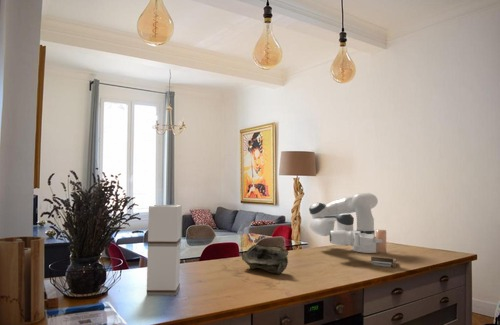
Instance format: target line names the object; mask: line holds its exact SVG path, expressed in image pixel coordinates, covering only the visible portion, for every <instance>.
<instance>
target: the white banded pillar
mask: <svg viewBox="0 0 500 325" xmlns="http://www.w3.org/2000/svg"><path fill="white" fill-rule="evenodd" d="M147 225H148V227H147V228H148V230H147V262H146V263H147V264H146V265H147V266H146V271H147V272H146V296H173V297H175V296H177V293H178V292H179V290H180V288H181V283H180V280H181V279H180V276H181V274H180V269H181V268H180V267H181V247H182V246H181V245H182V204H180V205H179V204H154V206H152V205H151V206H150V205H149V206H148V224H147Z"/></svg>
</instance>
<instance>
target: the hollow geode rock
mask: <svg viewBox="0 0 500 325" xmlns="http://www.w3.org/2000/svg"><path fill="white" fill-rule="evenodd" d="M241 255H242V256H241V259H242V261H243V262H245V264H247V265H248V266H249V270H254V269H258V268H259V269H263V270H265V271H266V272H269V273H273V274H276V275H282V273H283V272H284V271H285V270H286V268H287V266H288V263H289V259H288V255H289V250H287V249H284V248H282V246H278V245H264V244H263V245H262V244H261V245H260V243H257V244H254V245H251V247H249V248H248V250H245V251H244V252H243V253H242V254H241Z"/></svg>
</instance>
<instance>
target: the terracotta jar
mask: <svg viewBox="0 0 500 325" xmlns="http://www.w3.org/2000/svg"><path fill="white" fill-rule="evenodd" d="M375 237H376V239H382V243H376V252H375V253H383V254H384V253H387V230H386V229H376V230H375Z"/></svg>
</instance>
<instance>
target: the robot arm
mask: <svg viewBox="0 0 500 325" xmlns="http://www.w3.org/2000/svg"><path fill="white" fill-rule="evenodd" d="M378 203H379V202H378V197H377V196H376V195H374V194H373V193H370V192H366V193H365V192H361V193H359V192H358V193H357V194H355V195H352V196H347V197H343V198H340V199H335V200H333V201H331V202H330V201H329V202H328V203H327V204H325V203H322V202H315V203H313V204H311V205H310V206H309V208H308V210H309V211H308V212H309V214H310V215H311V217H312V219H311V220H310V222H309V228H310V231H312V232H314V233H315V234H316V235H319V236H322V237H329V242H330V244H332V245H339V246H352V248H350V251H354V252H358V253H365V254H372V253H373V254H374V253H375V254H376V253H377V252H376V243H382V239H376V230H375V218H374V216H373V214H372V213H373V212H372V209H373V208H375V207H377V205H378ZM352 213H355V215H356V230H354V217H353V215H352ZM335 224H336V229H335ZM334 229H335V230H334Z"/></svg>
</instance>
